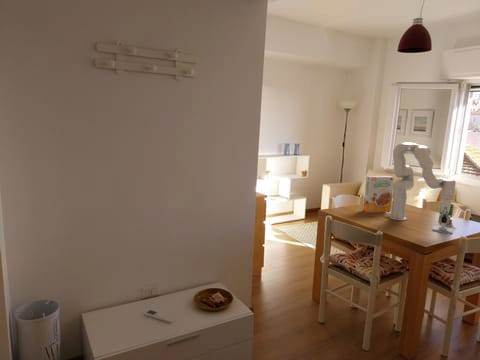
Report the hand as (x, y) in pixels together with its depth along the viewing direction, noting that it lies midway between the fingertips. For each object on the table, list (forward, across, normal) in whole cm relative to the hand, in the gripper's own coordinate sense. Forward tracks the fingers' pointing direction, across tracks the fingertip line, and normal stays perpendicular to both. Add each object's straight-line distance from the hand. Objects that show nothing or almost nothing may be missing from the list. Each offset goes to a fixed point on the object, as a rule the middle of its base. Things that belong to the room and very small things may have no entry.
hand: (444, 221), depth 244 cm
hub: (+1, 0, 0) cm, 1 cm away
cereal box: (+7, -26, -51) cm, 58 cm away
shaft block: (+7, 0, 0) cm, 7 cm away
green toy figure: (+7, -26, 0) cm, 27 cm away
